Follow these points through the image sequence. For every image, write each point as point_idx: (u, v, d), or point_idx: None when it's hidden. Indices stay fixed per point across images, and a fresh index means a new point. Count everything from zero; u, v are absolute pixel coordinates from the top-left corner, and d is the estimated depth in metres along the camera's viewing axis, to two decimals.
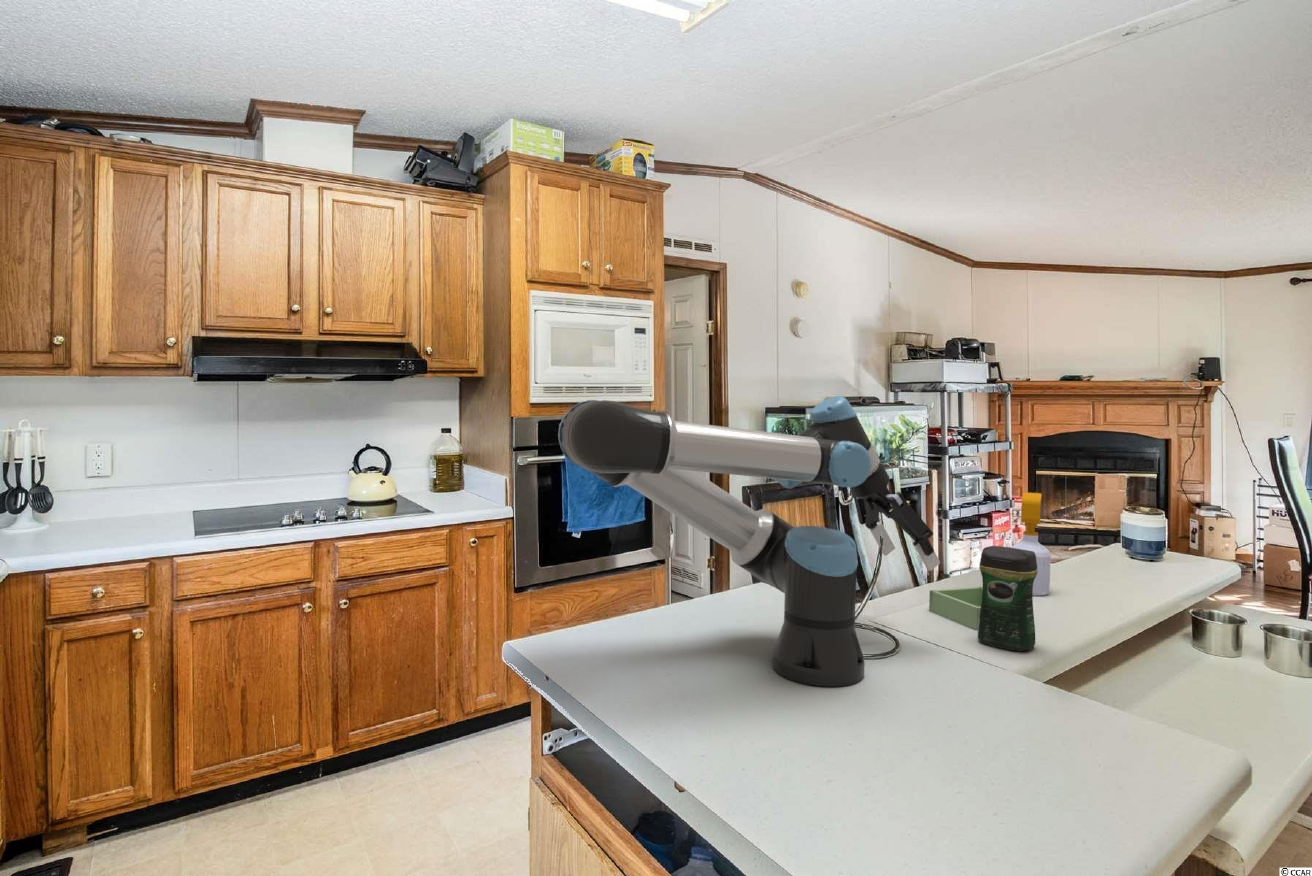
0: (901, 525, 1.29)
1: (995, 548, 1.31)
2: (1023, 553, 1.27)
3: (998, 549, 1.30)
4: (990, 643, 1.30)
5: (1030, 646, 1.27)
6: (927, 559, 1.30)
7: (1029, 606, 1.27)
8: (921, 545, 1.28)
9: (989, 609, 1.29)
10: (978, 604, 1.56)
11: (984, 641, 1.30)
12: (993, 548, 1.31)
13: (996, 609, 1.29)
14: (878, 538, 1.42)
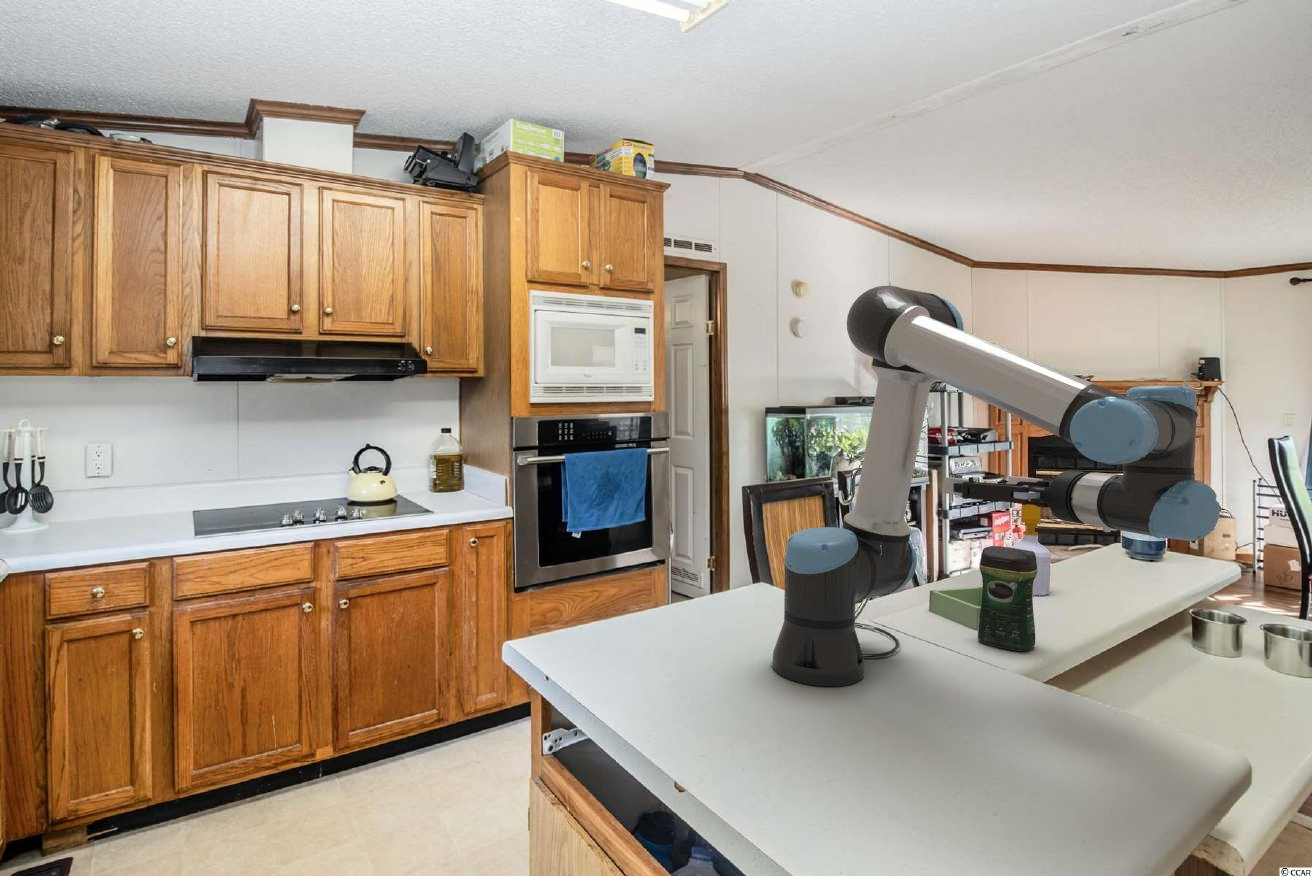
0: (999, 483, 1.07)
1: (995, 548, 1.31)
2: (1023, 553, 1.27)
3: (998, 549, 1.31)
4: (990, 643, 1.30)
5: (1030, 646, 1.27)
6: (953, 482, 1.14)
7: (1029, 606, 1.27)
8: None
9: (989, 609, 1.30)
10: (978, 604, 1.56)
11: (984, 641, 1.30)
12: (993, 548, 1.31)
13: (996, 609, 1.29)
14: (1027, 480, 1.16)
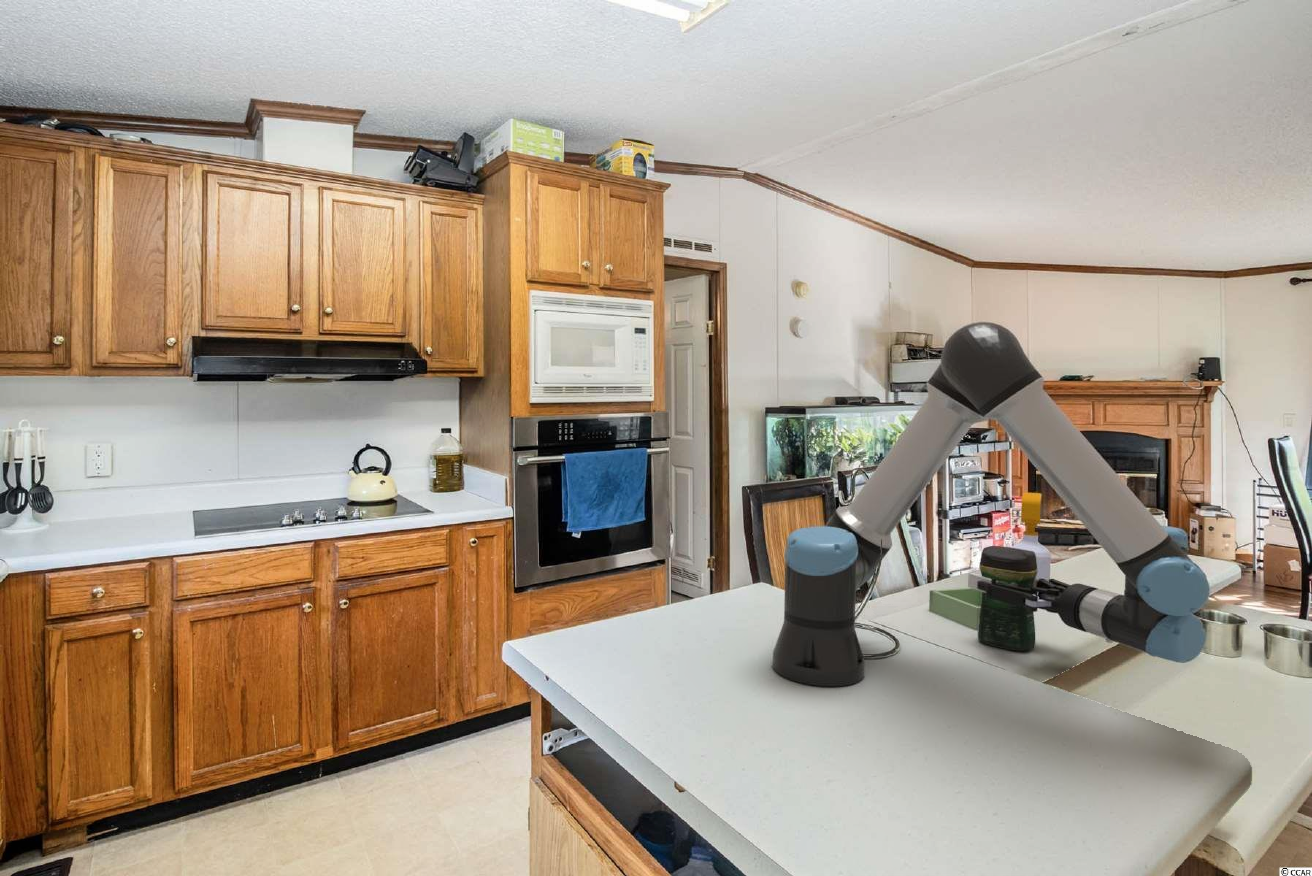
0: (1016, 587, 1.24)
1: (995, 548, 1.31)
2: (1023, 553, 1.27)
3: (998, 549, 1.31)
4: (990, 643, 1.29)
5: (1030, 646, 1.27)
6: (977, 579, 1.31)
7: None
8: (988, 583, 1.28)
9: (989, 608, 1.29)
10: (978, 604, 1.56)
11: (984, 641, 1.30)
12: (993, 548, 1.31)
13: (996, 608, 1.28)
14: None
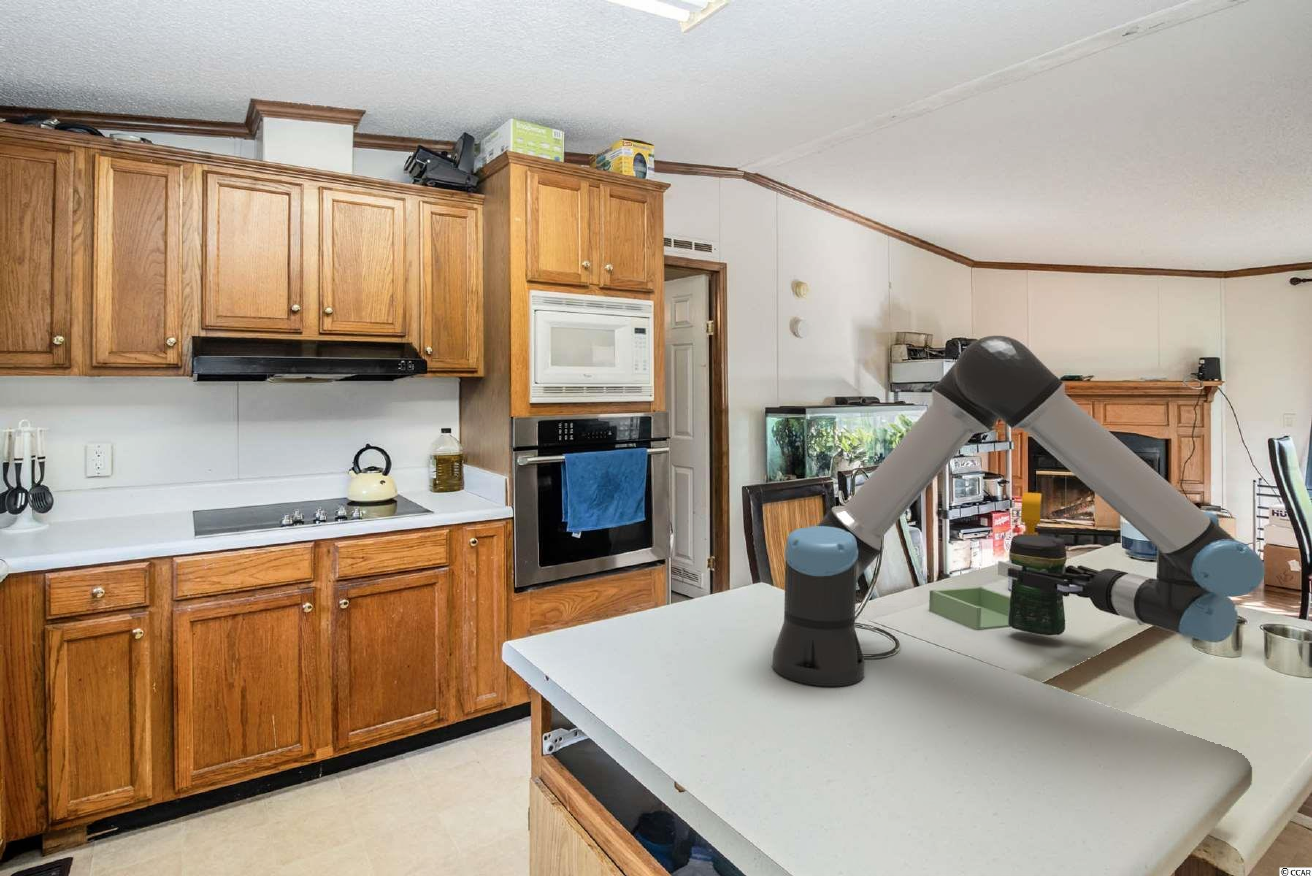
0: (1047, 573, 1.27)
1: (1024, 536, 1.34)
2: (1053, 540, 1.30)
3: (1028, 537, 1.34)
4: (1021, 629, 1.33)
5: (1060, 631, 1.30)
6: (1007, 566, 1.35)
7: None
8: (1018, 570, 1.31)
9: (1020, 595, 1.33)
10: (978, 604, 1.56)
11: (1015, 627, 1.34)
12: (1022, 536, 1.35)
13: (1027, 595, 1.32)
14: None
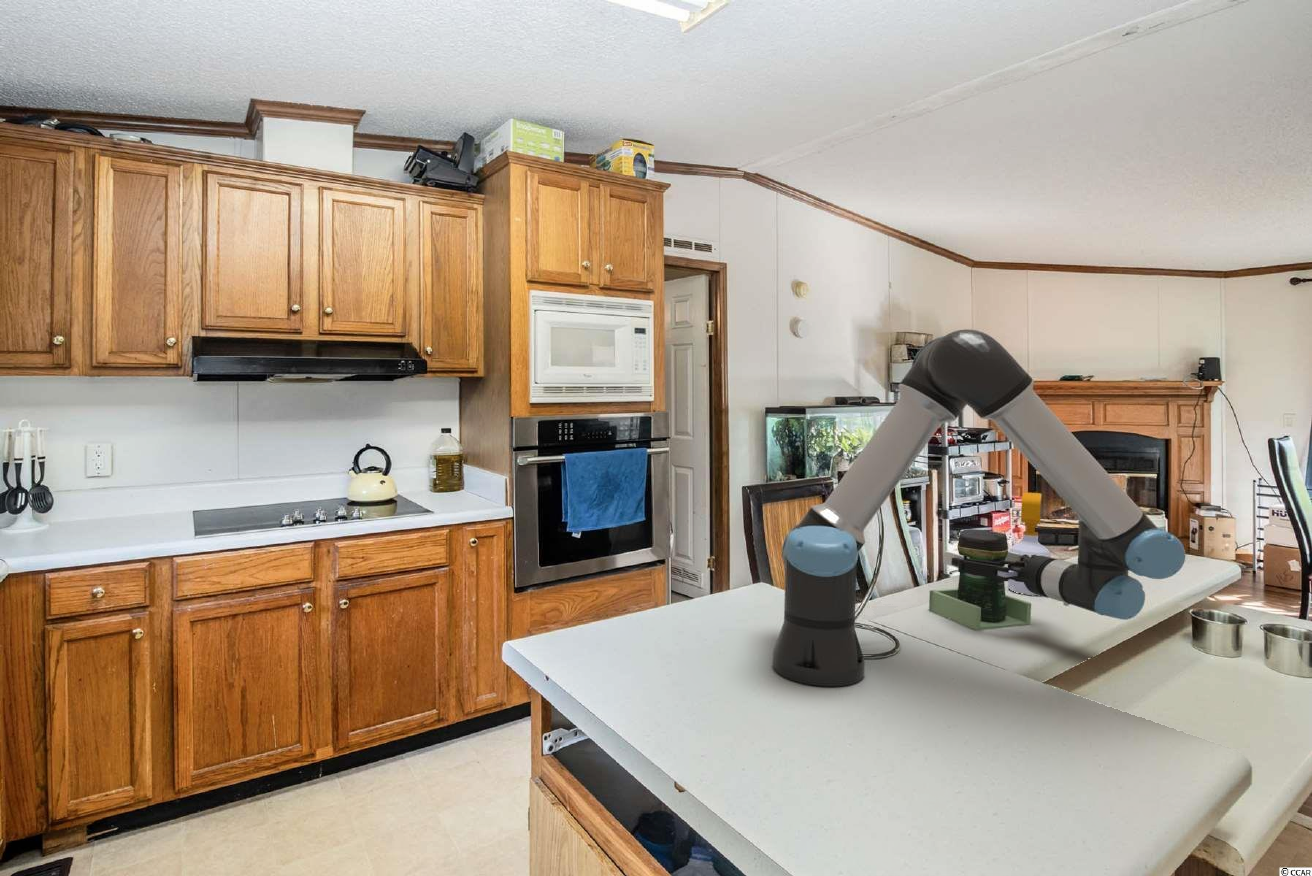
0: (986, 561, 1.39)
1: (971, 531, 1.48)
2: (995, 535, 1.44)
3: (974, 532, 1.47)
4: None
5: (1001, 617, 1.43)
6: (951, 556, 1.46)
7: (1000, 582, 1.44)
8: None
9: (965, 584, 1.46)
10: None
11: None
12: (969, 531, 1.48)
13: (971, 584, 1.45)
14: (1009, 553, 1.48)
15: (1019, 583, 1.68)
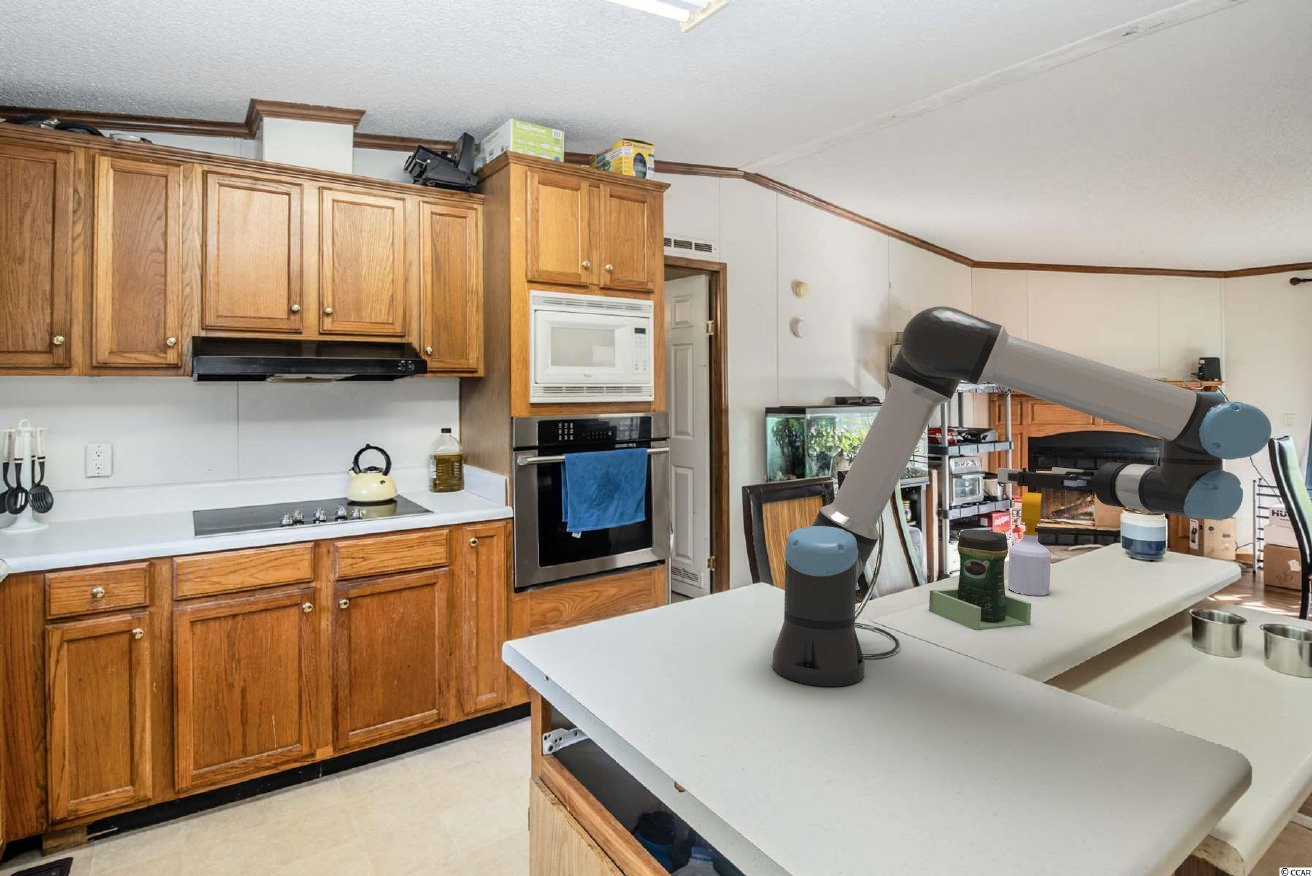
0: (1049, 473, 1.25)
1: (971, 531, 1.48)
2: (995, 535, 1.44)
3: (973, 532, 1.47)
4: None
5: (1001, 617, 1.43)
6: (1007, 472, 1.32)
7: (1000, 582, 1.44)
8: None
9: (965, 584, 1.46)
10: None
11: None
12: (969, 531, 1.48)
13: (971, 584, 1.45)
14: (1070, 471, 1.34)
15: (1019, 583, 1.68)
